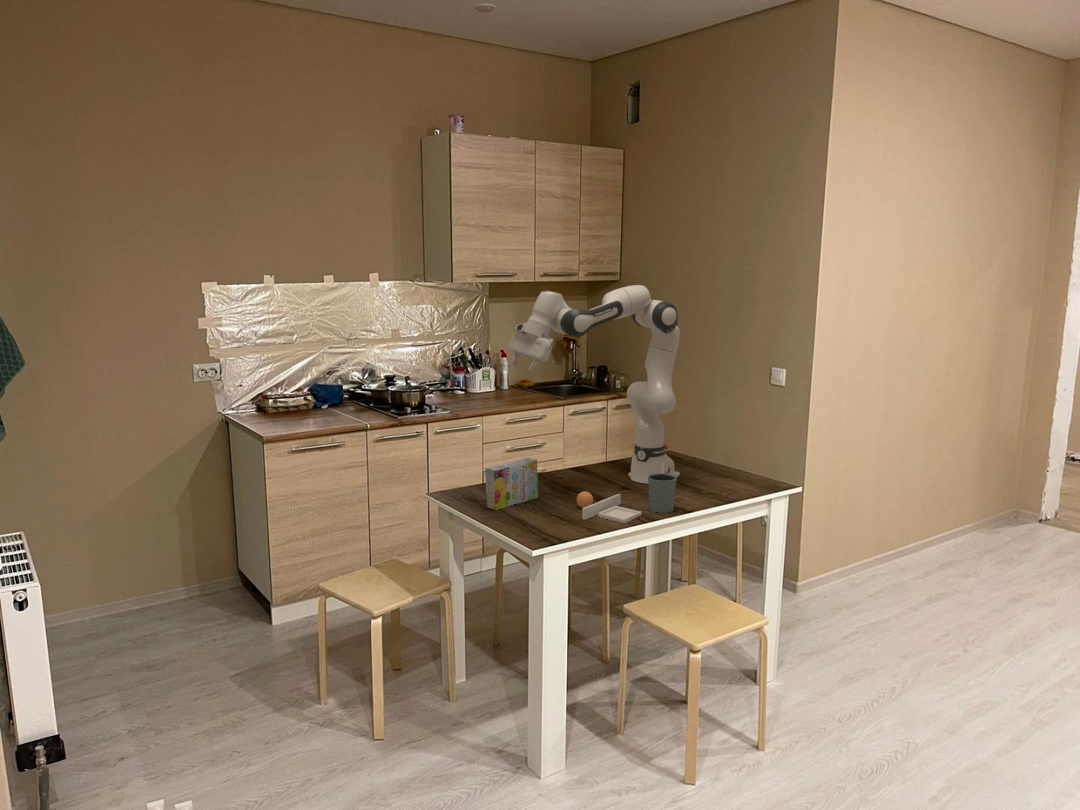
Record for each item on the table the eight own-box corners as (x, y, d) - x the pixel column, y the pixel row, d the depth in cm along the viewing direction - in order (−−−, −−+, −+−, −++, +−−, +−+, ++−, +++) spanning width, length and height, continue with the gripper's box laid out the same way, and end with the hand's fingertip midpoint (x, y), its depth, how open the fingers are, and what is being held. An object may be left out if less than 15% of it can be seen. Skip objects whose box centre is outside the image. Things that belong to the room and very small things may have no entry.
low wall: (618, 504, 293) (618, 493, 292) (620, 504, 292) (620, 494, 292) (582, 519, 276) (582, 508, 276) (584, 520, 276) (584, 509, 275)
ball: (583, 504, 293) (583, 488, 292) (596, 507, 290) (596, 491, 288) (573, 508, 289) (573, 492, 288) (586, 511, 285) (586, 495, 284)
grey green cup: (650, 514, 282) (651, 481, 280) (644, 505, 292) (645, 473, 290) (678, 513, 283) (679, 480, 281) (671, 504, 293) (672, 472, 291)
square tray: (615, 509, 287) (615, 505, 287) (641, 515, 280) (641, 511, 280) (597, 517, 279) (597, 513, 279) (624, 523, 272) (624, 519, 272)
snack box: (528, 495, 304) (527, 456, 302) (538, 498, 300) (538, 459, 298) (485, 507, 290) (484, 467, 287) (495, 511, 286) (495, 470, 283)
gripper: (560, 340, 286) (545, 376, 286) (525, 330, 302) (511, 364, 302) (548, 334, 282) (533, 371, 282) (513, 324, 297) (499, 359, 297)
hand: (521, 367), depth 292 cm, fingers open, 8 cm apart
